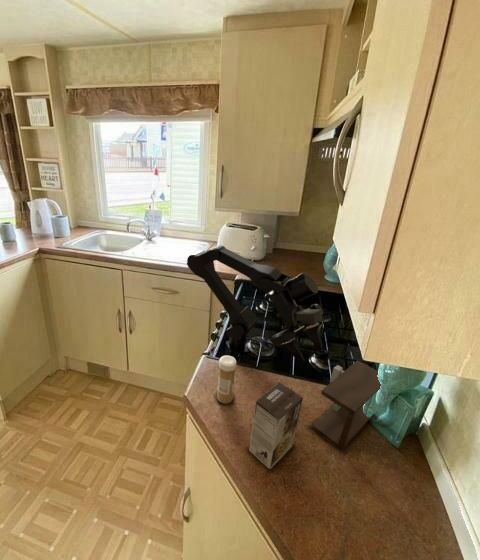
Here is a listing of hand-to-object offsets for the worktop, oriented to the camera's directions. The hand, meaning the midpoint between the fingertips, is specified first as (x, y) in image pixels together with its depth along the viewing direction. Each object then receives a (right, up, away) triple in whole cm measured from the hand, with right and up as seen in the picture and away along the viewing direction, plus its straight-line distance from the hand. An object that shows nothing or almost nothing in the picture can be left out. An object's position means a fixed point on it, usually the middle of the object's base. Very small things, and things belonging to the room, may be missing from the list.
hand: (312, 356), depth 90 cm
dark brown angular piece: (+6, -15, -7) cm, 18 cm away
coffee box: (-16, -19, -15) cm, 29 cm away
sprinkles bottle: (-25, -12, -1) cm, 28 cm away
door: (+6, -11, -3) cm, 13 cm away
